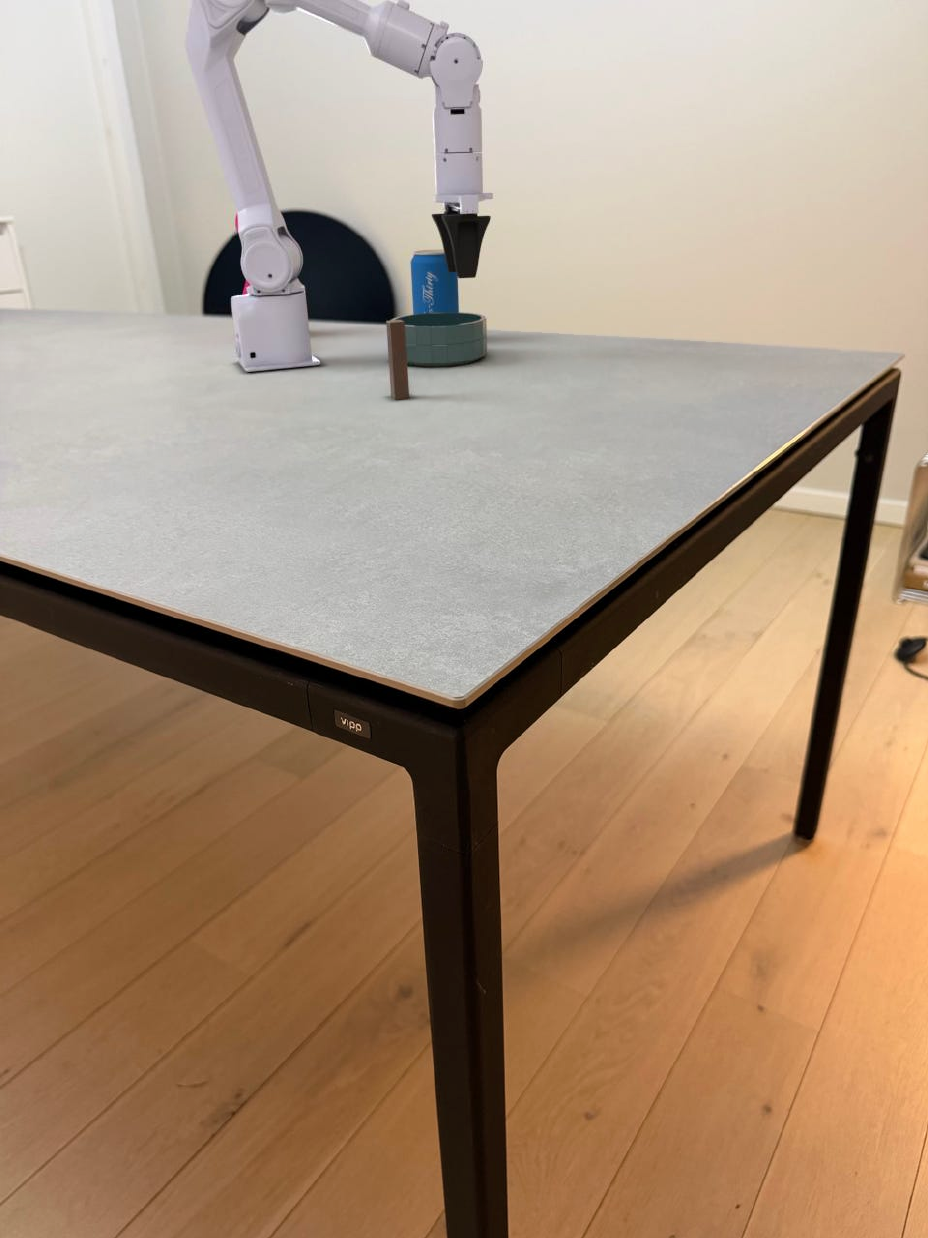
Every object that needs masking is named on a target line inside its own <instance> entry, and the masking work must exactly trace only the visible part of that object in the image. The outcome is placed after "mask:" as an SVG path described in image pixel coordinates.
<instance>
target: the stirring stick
mask: <svg viewBox="0 0 928 1238" xmlns="http://www.w3.org/2000/svg"><path fill="white" fill-rule="evenodd" d="M385 325H386V326H385V327H386V339H387V341H386V342H387V355H388V370H389V384H390V397H391V398H392V399H393V400H396V401H397V400H406V399H410V388H409V372H408V364H407V352H406V334H405V322H404V321H402V320H392V319H390V320H386V321H385Z"/></svg>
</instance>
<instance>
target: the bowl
mask: <svg viewBox="0 0 928 1238" xmlns="http://www.w3.org/2000/svg"><path fill="white" fill-rule="evenodd" d="M391 320H402V321H404V322H405V334H406V352H407V365H410V366H415V367H428V368H429V367H432V368H433V367H435V368H436V367H451V366H453V367H454V366H460V365H465V364H471V363H473V362H475V361H477V360H478V359H479V358H483V357H484V356H486V355H487V354H488V337H487V336H488V330H487V329H488V328H487V326H488V325H487V316H486V315H483V314H480V313H474V312H464V311H463V312H462V311H459V312H432V313H419V314H413V313H412V314H404V315H401V316H396V317H394V318H391Z"/></svg>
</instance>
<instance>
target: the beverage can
mask: <svg viewBox="0 0 928 1238" xmlns="http://www.w3.org/2000/svg"><path fill="white" fill-rule="evenodd" d="M412 254H413V256H412V258H411V260H410V276H411V277H410V279H411V280H410V283H411V297H412V300H411V301H412V314H419V313H432V312H460V305H459V303H460V302H459V299H460V297H459V278H458V275H457V272H449V271H448V267H447V264H446V259H445V254H444V249H443V248H442V249H420V250H414V251H413V252H412Z"/></svg>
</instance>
